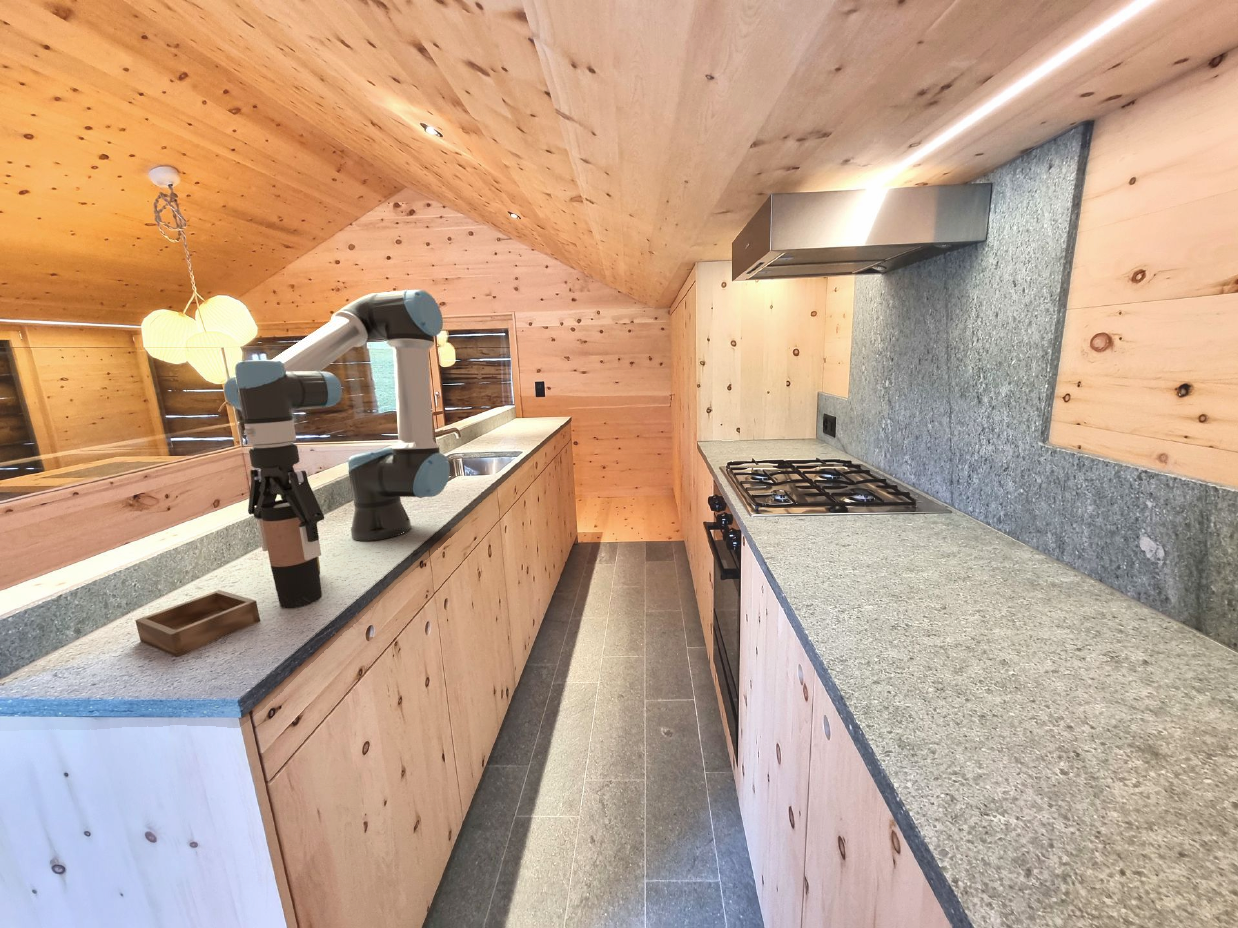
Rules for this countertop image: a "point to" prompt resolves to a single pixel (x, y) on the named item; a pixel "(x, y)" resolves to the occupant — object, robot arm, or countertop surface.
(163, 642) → the rectangular wooden tray
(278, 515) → the travel mug
